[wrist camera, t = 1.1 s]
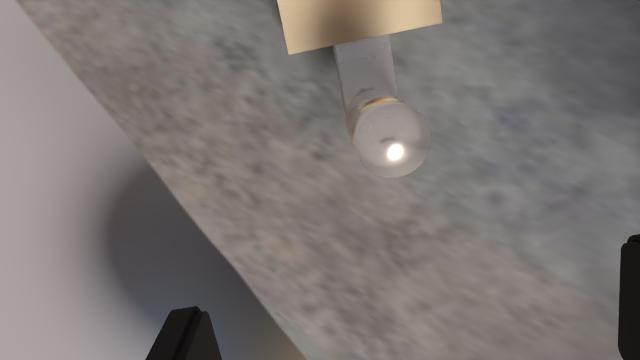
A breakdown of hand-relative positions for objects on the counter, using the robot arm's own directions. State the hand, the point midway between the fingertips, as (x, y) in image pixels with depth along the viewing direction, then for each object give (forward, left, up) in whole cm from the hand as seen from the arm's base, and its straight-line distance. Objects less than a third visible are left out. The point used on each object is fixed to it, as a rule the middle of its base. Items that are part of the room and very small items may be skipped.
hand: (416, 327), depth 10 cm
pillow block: (-2, -8, -24) cm, 25 cm away
